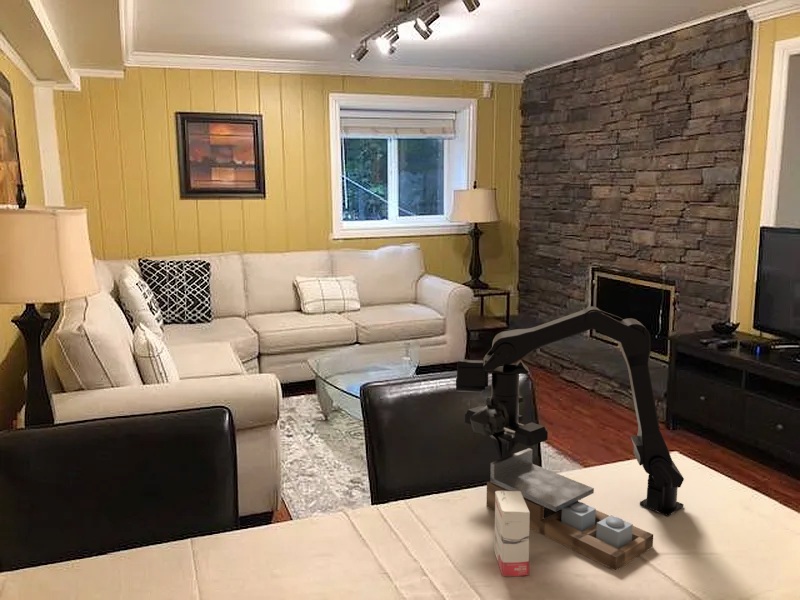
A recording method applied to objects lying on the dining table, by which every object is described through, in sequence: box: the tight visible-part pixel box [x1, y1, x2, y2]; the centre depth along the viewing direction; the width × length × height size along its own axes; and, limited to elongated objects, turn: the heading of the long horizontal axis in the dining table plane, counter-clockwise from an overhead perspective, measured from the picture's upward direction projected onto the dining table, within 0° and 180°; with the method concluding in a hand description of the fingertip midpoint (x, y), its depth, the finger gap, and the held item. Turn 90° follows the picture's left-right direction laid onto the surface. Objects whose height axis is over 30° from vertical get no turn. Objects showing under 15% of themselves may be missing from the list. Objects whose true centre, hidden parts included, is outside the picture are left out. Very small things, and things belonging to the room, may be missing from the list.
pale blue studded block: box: [561, 500, 597, 532], centre depth 126 cm, size 4×4×6 cm
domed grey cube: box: [596, 515, 634, 549], centre depth 120 cm, size 4×4×6 cm
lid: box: [489, 447, 595, 513], centre depth 132 cm, size 12×17×4 cm
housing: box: [485, 480, 654, 571], centre depth 129 cm, size 12×31×5 cm, turn 39°
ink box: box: [493, 491, 530, 577], centre depth 115 cm, size 9×5×12 cm, turn 1°
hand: (504, 462), depth 140 cm, fingers closed
